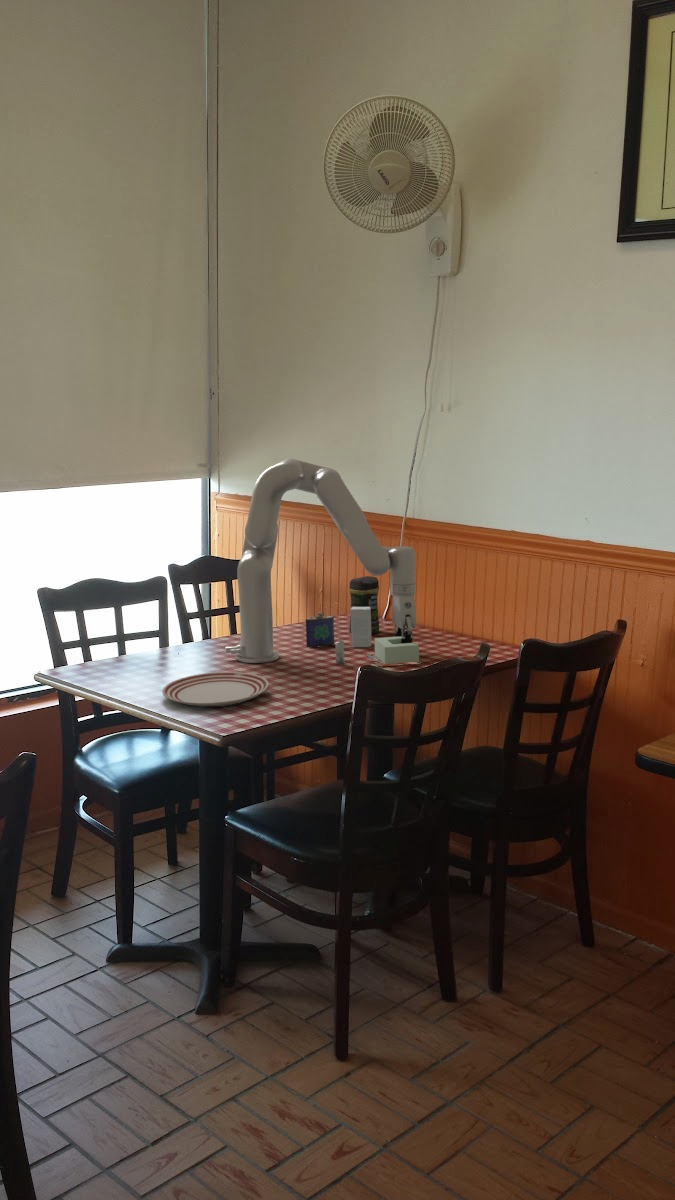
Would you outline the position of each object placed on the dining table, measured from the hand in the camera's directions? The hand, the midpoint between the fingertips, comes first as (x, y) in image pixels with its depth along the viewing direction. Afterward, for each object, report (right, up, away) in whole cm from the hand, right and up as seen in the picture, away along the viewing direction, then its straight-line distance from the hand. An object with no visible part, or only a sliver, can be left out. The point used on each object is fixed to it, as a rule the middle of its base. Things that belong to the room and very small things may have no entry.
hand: (403, 648), depth 316 cm
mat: (-3, -3, -5) cm, 6 cm away
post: (-19, -4, -8) cm, 21 cm away
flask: (-25, 0, +14) cm, 29 cm away
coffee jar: (-11, +3, +29) cm, 31 cm away
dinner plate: (-51, -11, -38) cm, 65 cm away
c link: (-3, -3, -5) cm, 6 cm away
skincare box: (-12, 0, +13) cm, 18 cm away
